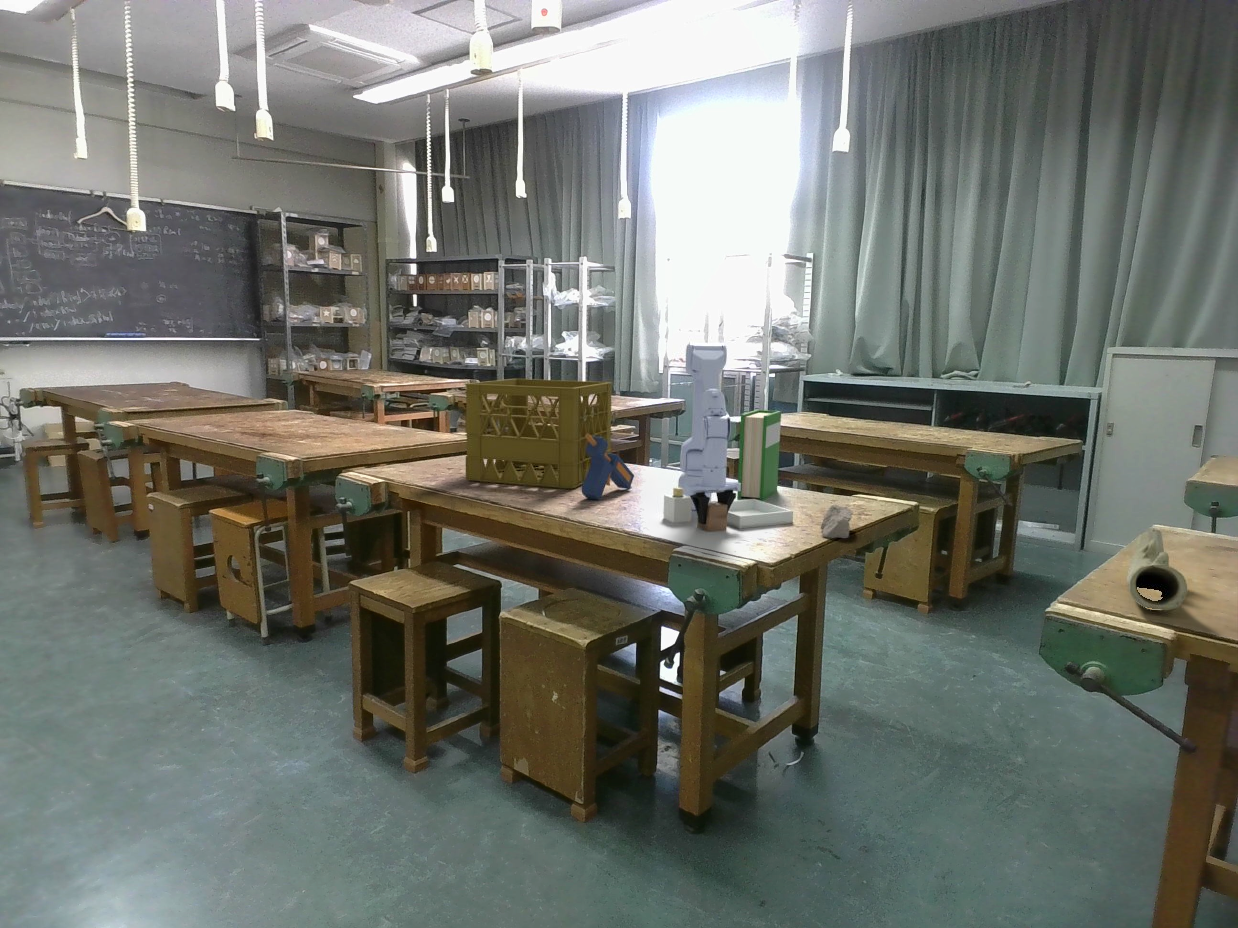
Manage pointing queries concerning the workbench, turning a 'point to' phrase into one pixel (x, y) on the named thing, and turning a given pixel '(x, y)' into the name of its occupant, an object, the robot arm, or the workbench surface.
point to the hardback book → (759, 453)
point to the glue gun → (604, 469)
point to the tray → (757, 514)
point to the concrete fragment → (837, 522)
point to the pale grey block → (677, 506)
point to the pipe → (1155, 573)
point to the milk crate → (535, 431)
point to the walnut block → (715, 517)
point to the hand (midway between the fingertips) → (712, 522)
